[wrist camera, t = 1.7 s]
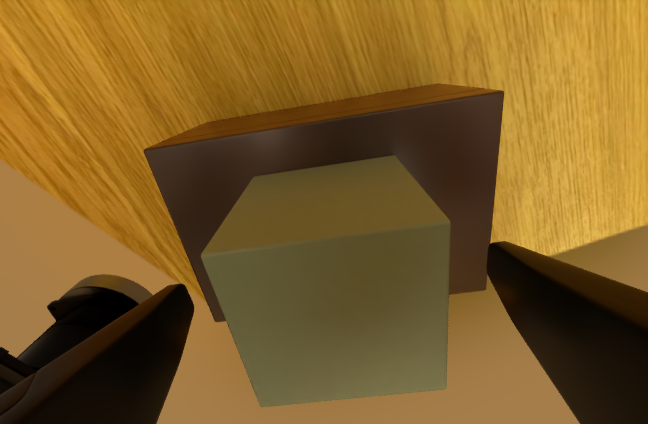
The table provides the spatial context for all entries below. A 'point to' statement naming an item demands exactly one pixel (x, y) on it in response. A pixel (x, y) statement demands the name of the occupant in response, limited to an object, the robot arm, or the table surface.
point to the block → (335, 283)
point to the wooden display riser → (341, 147)
